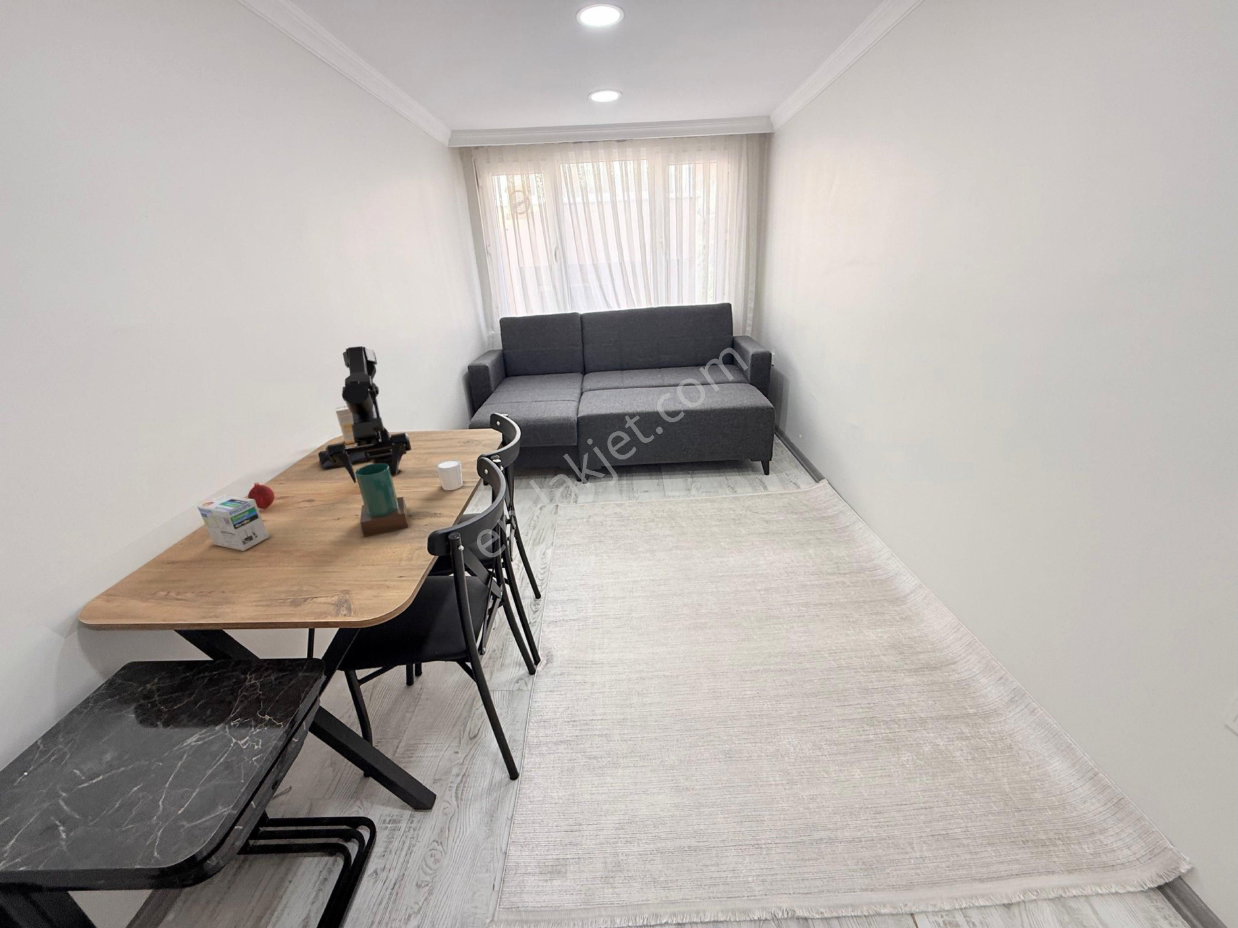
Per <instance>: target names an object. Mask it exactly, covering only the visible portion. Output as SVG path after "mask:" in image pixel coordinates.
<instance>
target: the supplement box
mask: <svg viewBox="0 0 1238 928" xmlns="http://www.w3.org/2000/svg"><path fill="white" fill-rule="evenodd" d="M334 409H335V414H336V417H337V420H338V423H339V427H340V431H341V434H342V437H343V440H344V442H345V443H344V444H345V445H349V444H356V443H355V442H354V437H353V431H352V427H351V425H353V418H352V413H351V412H350V410H349V408H348V406H347V405H344V406H339V407H338V406H337V407H335V408H334Z"/></svg>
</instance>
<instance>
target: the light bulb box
mask: <svg viewBox="0 0 1238 928" xmlns="http://www.w3.org/2000/svg"><path fill="white" fill-rule="evenodd" d="M196 508H197V509H198V512H199V514H200V516H201V518H202V520H203V523H204V525H205V527H206V529H207V530H206V531H208V534H209V536H210V538H211V541H212V543H213V545H214V546H220V547H224V548H227V549H232V550H237V551H242V552H245V551H246V550H249V549H250V548H252V547H253V546H255V545H257V544H259V543H261V542H263V541H265V540H267V539H268V538H270V535H269V533H268V530H267V528H266V526H265V523H264V520H263V518H262V515H261V512H260V509H259V508H258V507H257V504H256V502H255V499H249V498H248V497H240V496H233V495H228V494H223V495H221V496H217V497H215V498H212V499H211V500H209V501H206V502H204V503H201V504H199V505H197V507H196Z"/></svg>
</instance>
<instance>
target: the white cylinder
mask: <svg viewBox="0 0 1238 928" xmlns="http://www.w3.org/2000/svg"><path fill="white" fill-rule="evenodd" d="M435 467H436V471H437V475H438V477H439V481H440V483H441V487H442V490H445V491H454V490H457V489H460V488H461V487H463V485H464V484H463V471H462V462H461V460H458V459H448V460H443V461H440V462H438V463H437V464H435Z"/></svg>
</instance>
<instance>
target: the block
mask: <svg viewBox="0 0 1238 928" xmlns="http://www.w3.org/2000/svg"><path fill="white" fill-rule="evenodd" d="M397 501H398V508H397V509H396V510H395V511H393V512H392V513H389V514H386V515H383V516H369V515H368V514H367V513H366V510H365V506H364V504H362V505H361V510H360V520H359V524H360V529H361V531H362V534H363V538H367V537H370V536H375V535H379V534H384V533H388V532H391V531H398V530H401V529H406V528H409V522H408V510H407V505H406V501H405V497H404V496H401V497H397Z"/></svg>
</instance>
